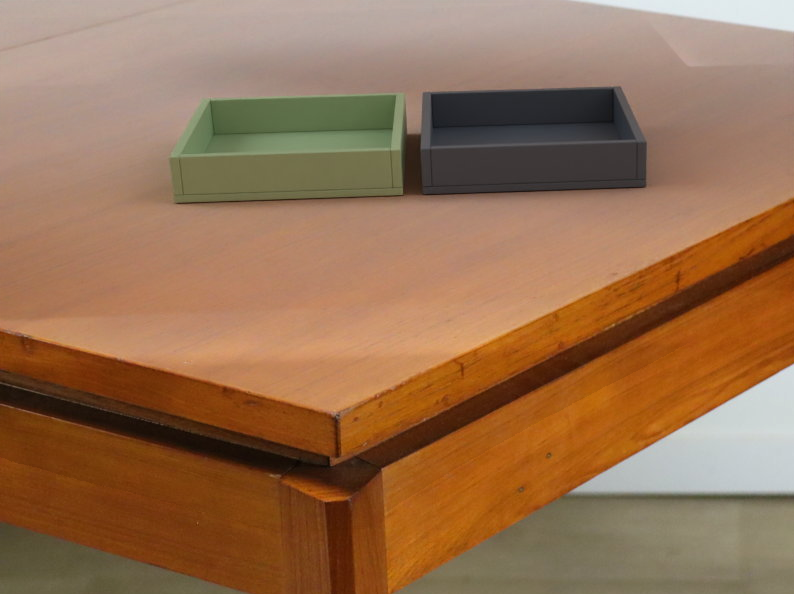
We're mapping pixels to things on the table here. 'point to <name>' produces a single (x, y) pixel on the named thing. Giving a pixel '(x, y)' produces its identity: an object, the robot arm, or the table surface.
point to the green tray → (292, 148)
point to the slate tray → (530, 140)
